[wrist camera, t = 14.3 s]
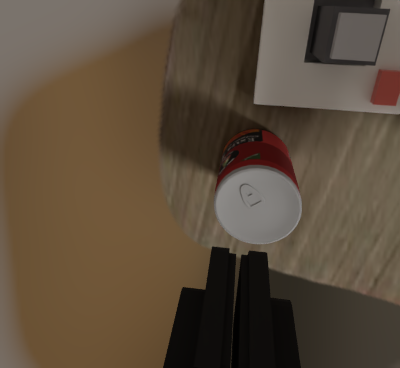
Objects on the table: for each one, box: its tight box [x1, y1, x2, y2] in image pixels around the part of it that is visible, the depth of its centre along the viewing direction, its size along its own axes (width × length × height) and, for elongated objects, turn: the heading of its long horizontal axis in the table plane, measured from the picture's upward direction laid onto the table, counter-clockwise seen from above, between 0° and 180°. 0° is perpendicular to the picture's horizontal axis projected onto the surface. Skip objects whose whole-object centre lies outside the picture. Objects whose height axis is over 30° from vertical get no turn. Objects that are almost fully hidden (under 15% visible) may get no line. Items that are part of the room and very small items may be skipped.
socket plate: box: [253, 0, 400, 114], centre depth 31 cm, size 14×14×3 cm
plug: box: [310, 6, 390, 66], centre depth 29 cm, size 4×4×8 cm
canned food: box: [214, 129, 302, 244], centre depth 35 cm, size 8×8×11 cm
